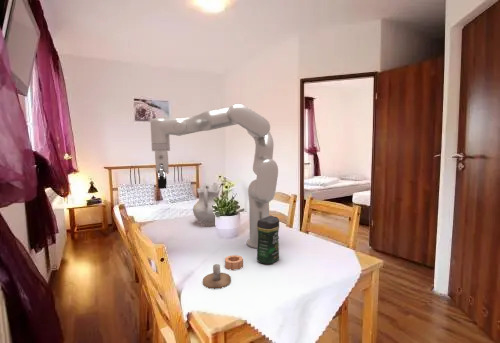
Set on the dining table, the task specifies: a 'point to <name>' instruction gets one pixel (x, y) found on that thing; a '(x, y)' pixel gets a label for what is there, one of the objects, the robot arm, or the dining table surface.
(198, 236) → the dining table surface
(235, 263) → the ring
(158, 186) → the robot arm
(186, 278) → the dining table surface
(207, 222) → the ceramic pitcher
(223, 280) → the post stand
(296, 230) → the dining table surface
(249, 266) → the dining table surface
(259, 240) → the coffee jar
